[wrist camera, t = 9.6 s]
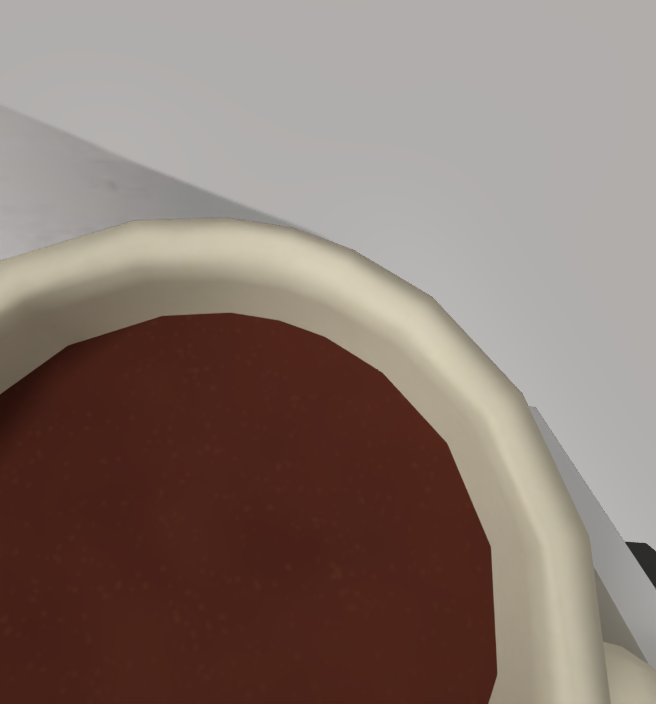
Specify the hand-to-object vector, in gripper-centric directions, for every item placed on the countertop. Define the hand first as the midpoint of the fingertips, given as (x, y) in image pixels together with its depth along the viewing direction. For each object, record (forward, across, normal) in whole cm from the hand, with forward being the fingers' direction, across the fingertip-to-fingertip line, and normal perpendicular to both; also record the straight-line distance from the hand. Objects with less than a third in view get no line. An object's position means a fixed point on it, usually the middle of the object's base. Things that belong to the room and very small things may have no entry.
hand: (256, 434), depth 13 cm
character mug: (+2, 0, -6) cm, 6 cm away
